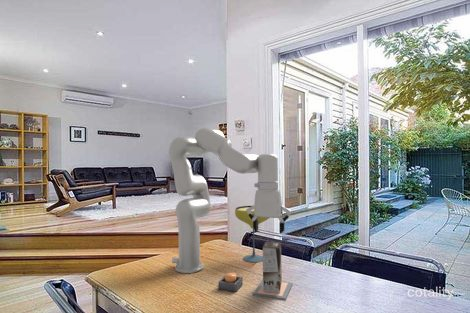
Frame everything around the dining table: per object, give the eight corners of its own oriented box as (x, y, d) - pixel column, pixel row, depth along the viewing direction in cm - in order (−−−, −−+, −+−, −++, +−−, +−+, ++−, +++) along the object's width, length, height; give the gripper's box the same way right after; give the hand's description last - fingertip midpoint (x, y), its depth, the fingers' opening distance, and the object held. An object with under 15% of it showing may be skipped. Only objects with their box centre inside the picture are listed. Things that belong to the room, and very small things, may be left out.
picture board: (252, 295, 108) (252, 293, 108) (262, 280, 121) (262, 278, 121) (285, 300, 104) (285, 298, 104) (292, 284, 117) (292, 282, 117)
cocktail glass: (231, 255, 154) (230, 206, 155) (263, 251, 160) (262, 204, 160) (242, 267, 137) (241, 212, 137) (278, 262, 142) (277, 209, 143)
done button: (223, 283, 114) (223, 276, 114) (227, 279, 118) (227, 272, 118) (234, 285, 112) (233, 277, 112) (237, 280, 116) (237, 273, 116)
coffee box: (280, 293, 107) (279, 248, 108) (262, 291, 109) (262, 247, 109) (282, 283, 116) (281, 241, 116) (265, 282, 118) (265, 240, 118)
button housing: (218, 289, 113) (218, 281, 113) (225, 282, 120) (225, 274, 120) (236, 292, 110) (236, 284, 110) (242, 284, 117) (242, 277, 117)
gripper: (243, 187, 113) (243, 232, 112) (289, 187, 107) (290, 236, 106) (249, 185, 120) (249, 228, 119) (292, 186, 114) (293, 231, 114)
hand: (268, 231), depth 113 cm, fingers open, 9 cm apart
